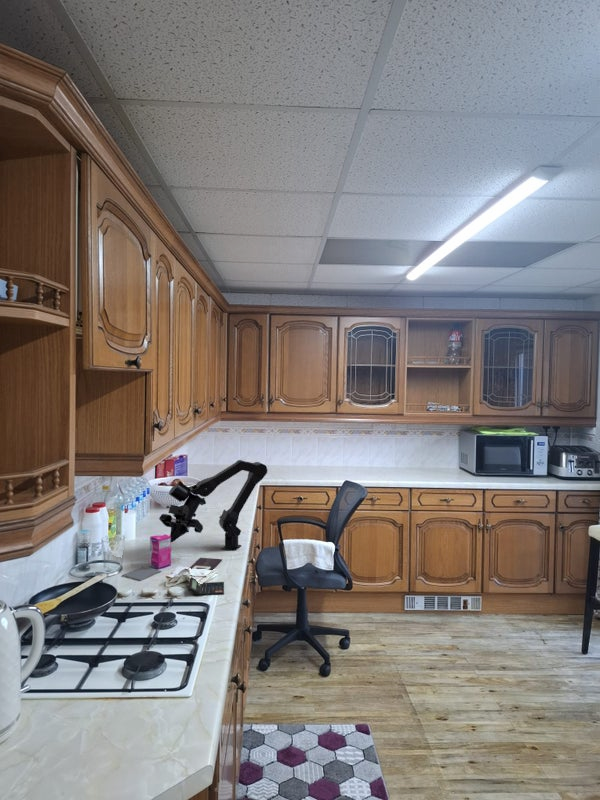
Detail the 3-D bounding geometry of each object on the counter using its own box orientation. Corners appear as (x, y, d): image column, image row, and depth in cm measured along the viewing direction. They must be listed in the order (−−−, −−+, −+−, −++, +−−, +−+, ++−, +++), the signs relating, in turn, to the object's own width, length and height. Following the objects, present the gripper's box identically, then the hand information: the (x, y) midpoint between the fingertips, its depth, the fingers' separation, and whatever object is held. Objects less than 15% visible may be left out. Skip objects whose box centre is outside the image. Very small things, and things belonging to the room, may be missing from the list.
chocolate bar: (222, 559, 192) (206, 576, 174) (222, 561, 192) (206, 578, 174) (200, 557, 193) (182, 574, 175) (200, 560, 193) (182, 576, 175)
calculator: (223, 595, 159) (223, 586, 159) (187, 597, 158) (187, 588, 158) (223, 584, 169) (224, 575, 169) (189, 585, 167) (189, 577, 167)
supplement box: (149, 566, 184) (149, 536, 184) (162, 562, 189) (162, 532, 188) (157, 569, 180) (158, 539, 180) (171, 565, 185) (171, 535, 185)
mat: (142, 567, 182) (142, 566, 182) (160, 571, 178) (160, 570, 178) (121, 576, 174) (121, 574, 174) (140, 580, 169) (140, 579, 169)
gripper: (162, 494, 198) (142, 527, 188) (198, 499, 190) (179, 534, 180) (175, 509, 205) (156, 542, 195) (211, 515, 197) (192, 549, 187)
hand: (170, 541), depth 189 cm, fingers closed
